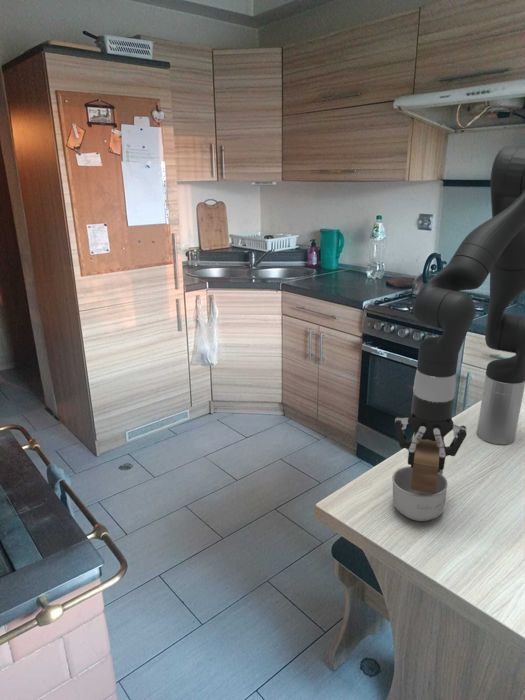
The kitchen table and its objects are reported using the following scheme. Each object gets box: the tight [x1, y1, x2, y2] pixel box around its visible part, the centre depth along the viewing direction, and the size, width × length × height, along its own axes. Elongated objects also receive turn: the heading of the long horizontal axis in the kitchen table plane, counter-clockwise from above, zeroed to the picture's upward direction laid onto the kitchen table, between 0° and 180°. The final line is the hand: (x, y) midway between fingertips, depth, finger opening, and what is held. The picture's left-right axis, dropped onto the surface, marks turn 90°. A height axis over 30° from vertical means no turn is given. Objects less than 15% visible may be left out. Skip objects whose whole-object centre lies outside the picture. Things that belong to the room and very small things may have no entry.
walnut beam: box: [411, 439, 440, 494], centre depth 100 cm, size 14×4×6 cm, turn 160°
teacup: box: [391, 465, 449, 522], centre depth 103 cm, size 14×11×8 cm
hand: (425, 467), depth 100 cm, fingers closed on walnut beam, 4 cm apart
